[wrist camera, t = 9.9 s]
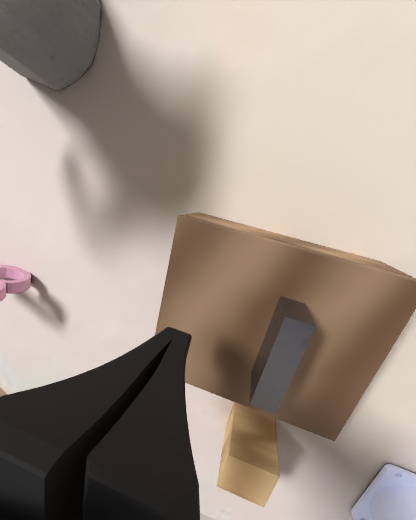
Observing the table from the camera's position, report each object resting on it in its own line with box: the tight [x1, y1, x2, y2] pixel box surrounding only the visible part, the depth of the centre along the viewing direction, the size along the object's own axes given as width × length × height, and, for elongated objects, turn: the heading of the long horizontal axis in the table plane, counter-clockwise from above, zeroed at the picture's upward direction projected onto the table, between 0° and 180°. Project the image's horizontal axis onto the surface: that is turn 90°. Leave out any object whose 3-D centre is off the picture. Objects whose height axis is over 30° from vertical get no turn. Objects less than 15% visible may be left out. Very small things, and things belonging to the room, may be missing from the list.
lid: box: [155, 215, 416, 441], centre depth 13 cm, size 14×12×4 cm
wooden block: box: [217, 402, 280, 507], centre depth 20 cm, size 4×4×5 cm
